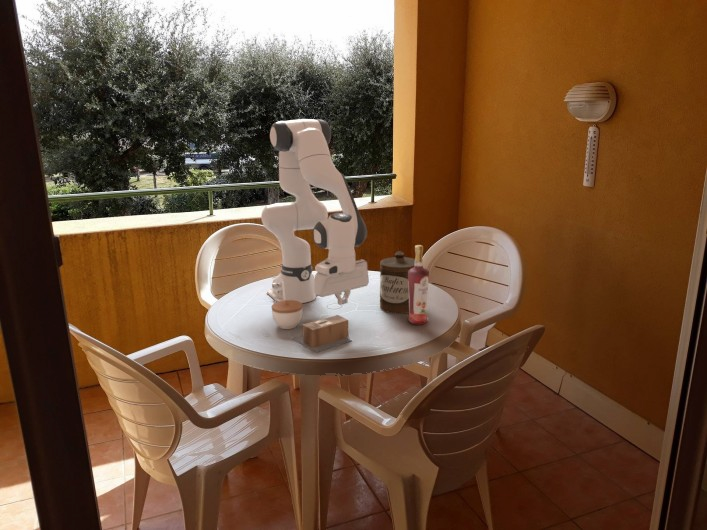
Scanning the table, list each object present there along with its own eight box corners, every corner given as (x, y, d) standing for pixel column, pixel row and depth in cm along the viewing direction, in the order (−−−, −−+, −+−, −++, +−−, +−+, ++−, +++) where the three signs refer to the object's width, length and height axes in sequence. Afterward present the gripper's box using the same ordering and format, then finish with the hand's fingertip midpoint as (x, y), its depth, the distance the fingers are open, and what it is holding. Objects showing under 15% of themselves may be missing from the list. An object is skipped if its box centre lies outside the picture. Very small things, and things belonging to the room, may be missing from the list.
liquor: (416, 328, 193) (418, 249, 185) (402, 322, 198) (403, 245, 191) (432, 323, 197) (434, 246, 189) (418, 317, 203) (419, 242, 195)
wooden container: (373, 310, 210) (373, 254, 204) (388, 299, 223) (388, 245, 217) (411, 316, 204) (412, 258, 198) (423, 303, 217) (425, 249, 211)
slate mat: (292, 338, 185) (292, 338, 185) (326, 328, 193) (326, 327, 193) (316, 352, 174) (316, 351, 174) (351, 341, 183) (351, 340, 183)
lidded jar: (288, 318, 204) (287, 293, 201) (309, 324, 197) (308, 299, 194) (266, 326, 196) (264, 301, 193) (287, 334, 189) (286, 308, 186)
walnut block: (338, 331, 190) (303, 341, 182) (337, 314, 188) (302, 323, 180) (348, 336, 185) (313, 347, 177) (348, 319, 184) (312, 329, 176)
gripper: (360, 256, 190) (361, 294, 193) (310, 266, 177) (312, 307, 181) (372, 260, 185) (372, 299, 189) (322, 271, 173) (323, 313, 176)
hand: (342, 303), depth 185 cm, fingers closed
